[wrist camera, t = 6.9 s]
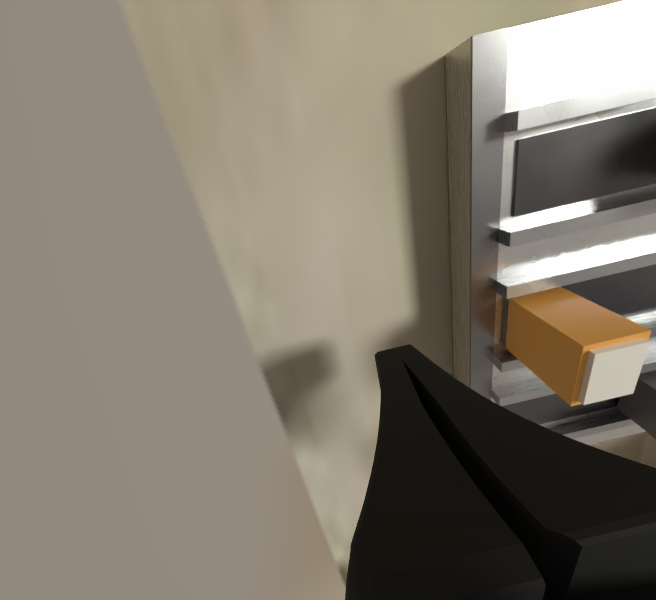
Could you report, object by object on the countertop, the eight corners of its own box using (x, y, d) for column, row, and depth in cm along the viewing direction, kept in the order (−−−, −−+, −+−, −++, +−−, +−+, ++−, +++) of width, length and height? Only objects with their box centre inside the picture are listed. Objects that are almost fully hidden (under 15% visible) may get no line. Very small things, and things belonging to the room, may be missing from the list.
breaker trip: (559, 286, 11) (658, 333, 8) (551, 336, 13) (637, 396, 9) (508, 297, 11) (589, 350, 8) (505, 347, 13) (575, 411, 9)
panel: (785, -26, 9) (916, -75, 7) (635, 406, 18) (678, 438, 16) (445, 54, 9) (485, 27, 7) (455, 449, 18) (475, 485, 16)
